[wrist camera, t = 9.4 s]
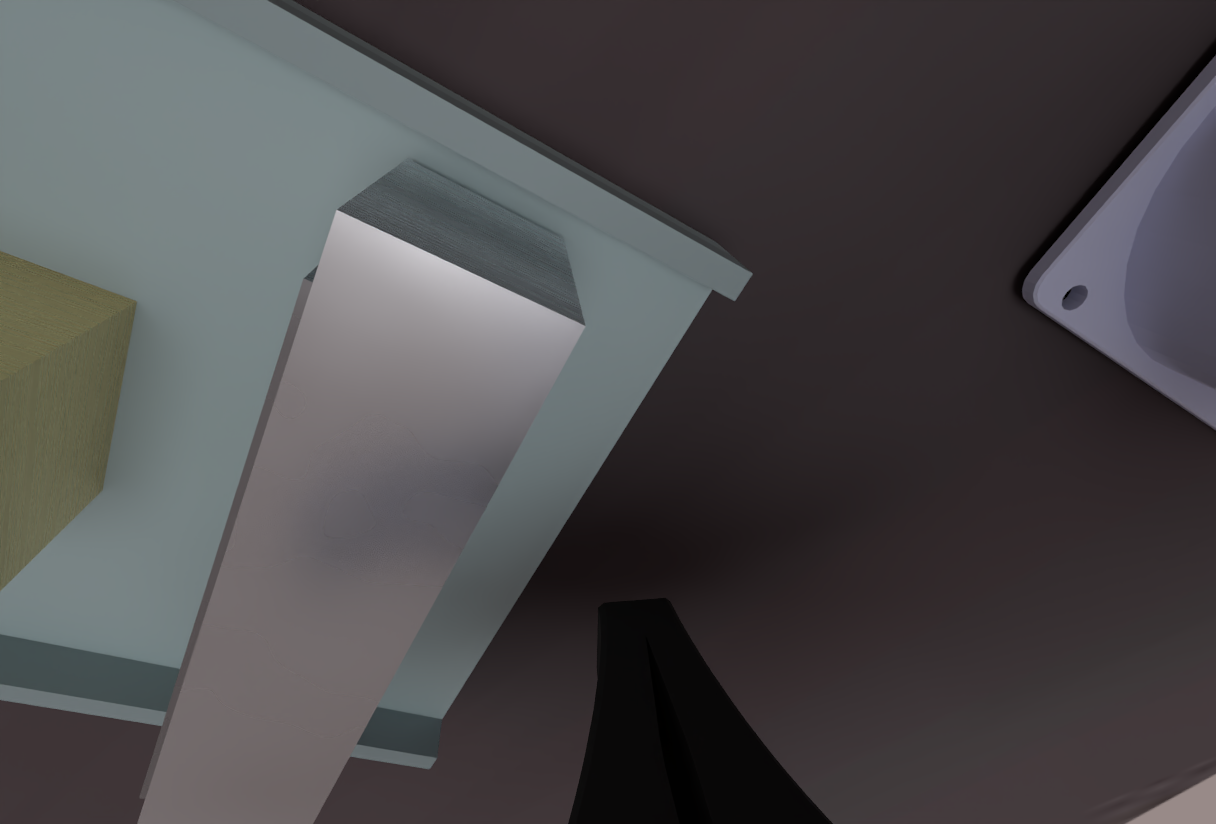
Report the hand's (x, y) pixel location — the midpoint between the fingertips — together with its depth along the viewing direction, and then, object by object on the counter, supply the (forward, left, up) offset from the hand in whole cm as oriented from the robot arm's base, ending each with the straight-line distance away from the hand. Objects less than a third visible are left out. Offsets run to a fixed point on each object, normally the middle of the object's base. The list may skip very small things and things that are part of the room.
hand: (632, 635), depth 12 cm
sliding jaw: (+6, 0, -2) cm, 6 cm away
